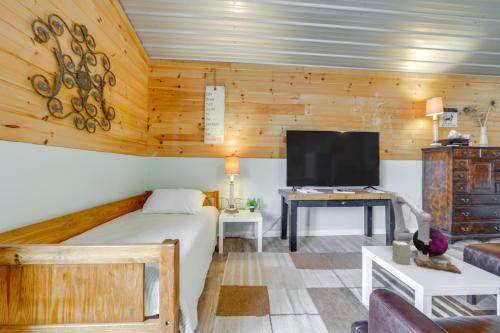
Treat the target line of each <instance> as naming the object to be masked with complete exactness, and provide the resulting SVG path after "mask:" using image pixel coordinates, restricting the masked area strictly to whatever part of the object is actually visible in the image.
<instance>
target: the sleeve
mask: <svg viewBox="0 0 500 333" xmlns="http://www.w3.org/2000/svg"><path fill="white" fill-rule="evenodd" d="M429 257H430V256H429V254H427V255H423V253H422V251H418V250H417V259H418V261H419V262H421V263H425V264H427V263H429V261H430V260H429V259H430V258H429Z"/></svg>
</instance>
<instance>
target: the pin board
mask: <svg viewBox="0 0 500 333" xmlns="http://www.w3.org/2000/svg"><path fill="white" fill-rule="evenodd" d="M413 262H414V263H415V265H416V266H417V267H420V268H425V269H432V270H435V271H441V272H442V271H443V272H447V273H453V274H459V275H461V274H462V271H461V270H460V269H459V268H458V267H457V266H456V265H455V264H452V262H451V261H449V260H447V261H446V262H439V259H437V258H433V260H429V263H427V264H425V263H421V262H419V261H418V257H413Z"/></svg>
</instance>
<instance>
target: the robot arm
mask: <svg viewBox="0 0 500 333" xmlns="http://www.w3.org/2000/svg"><path fill="white" fill-rule="evenodd" d="M390 199H391V205H392V207H393V212H394V217H395V218H394V219H395V222H396V228H395V229H394V230H393V238H394V240H393V241H397V242H405V243H407V244H409V243H410V242H411V241H413V235H412V234H411V231H410V229H408V228H407V227H406V224H405V223H406V222H405V216H404V212H403V208H402V206H403V205H406V206H407V207H408V208H410V209H409V210H410V212H411V213H412V214H413V215H414V216H415V219H416V222H417V224H418V225H417V228H418V229H417V230H418V239H416V240H417V242H418V245H419V250H420V251H422V253H423V255H427V254H428V251H429V249H430V247H431V245H429V241H432V240H431V239H429V228H430V223H431V222H432V220H433V217H432V215H431V214H430V213H429V212H425V211H424V209H422V208H421V207H420V206H419V205H415V203H414V202H413V201H412V200H411V199H410V196H409V195H408V194H407V193H406V192H405V193H397V192H396V193H395V192H394V193H392V194H391V196H390ZM409 245H410V244H409Z"/></svg>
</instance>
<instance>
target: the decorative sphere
mask: <svg viewBox="0 0 500 333" xmlns="http://www.w3.org/2000/svg"><path fill="white" fill-rule="evenodd" d="M416 239H418V229H417V230H416V231H415V232H414V233H413V235H412V243H413V246H414V247H415V249H416V250H417V252H418V251H420V250H419V245H418V242H417V240H416ZM429 239H431V240H432V241H429V245H431V247H430V249H429V251H428V254H429V257H430V258H431V257H433V258H435V257H436V258H437V257H440V256H444V254H446V252H447V251H448V249H449V242H448V239H447V238H446V235H444V233H442V232H441V231H439V229H435V228H433V227H429Z"/></svg>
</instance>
